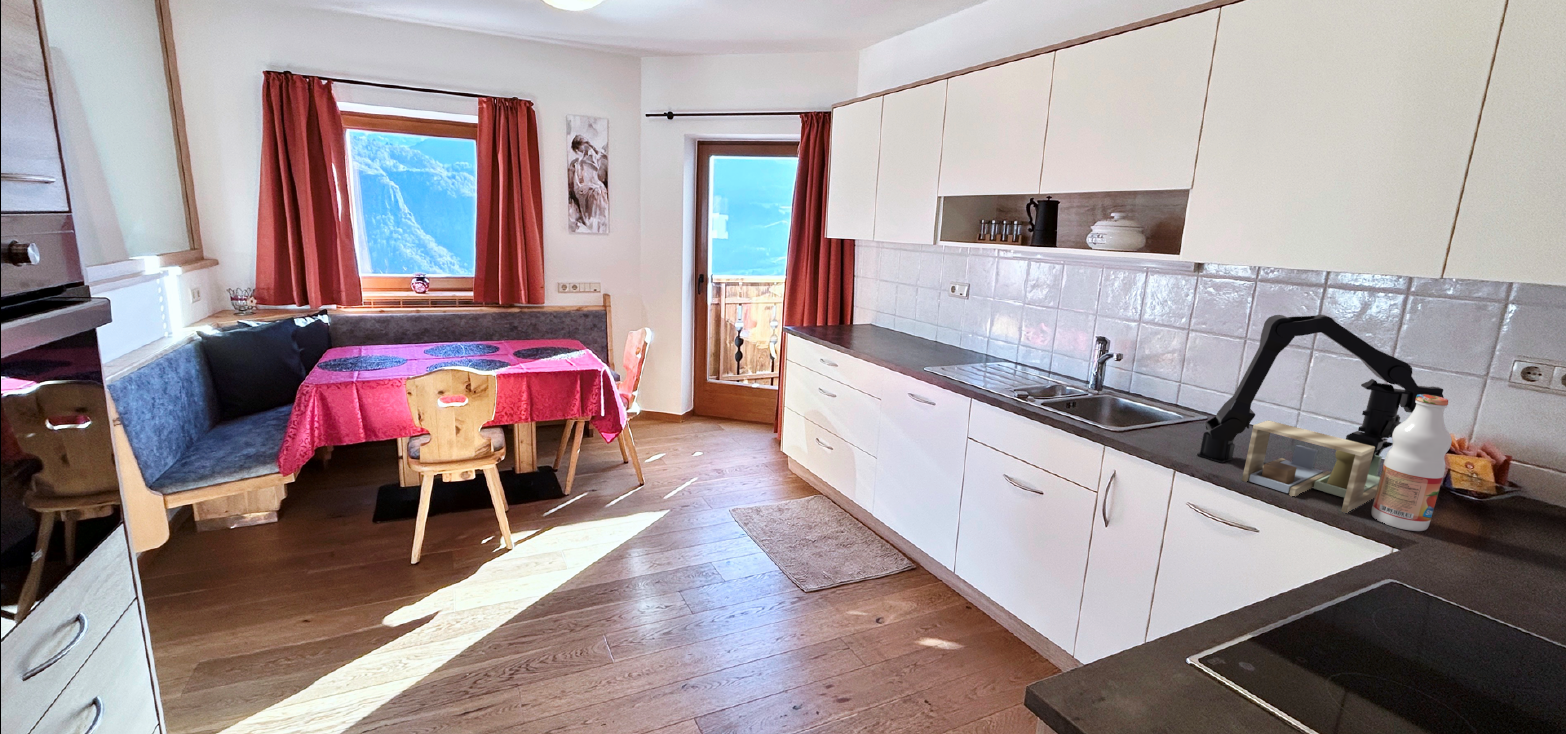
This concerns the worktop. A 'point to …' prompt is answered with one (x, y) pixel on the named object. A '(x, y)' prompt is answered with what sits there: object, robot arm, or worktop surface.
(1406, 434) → the fruit juice
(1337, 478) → the olive rounded upright piece
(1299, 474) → the blue-grey tray
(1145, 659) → the worktop surface
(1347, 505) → the board
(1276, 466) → the walnut cube
